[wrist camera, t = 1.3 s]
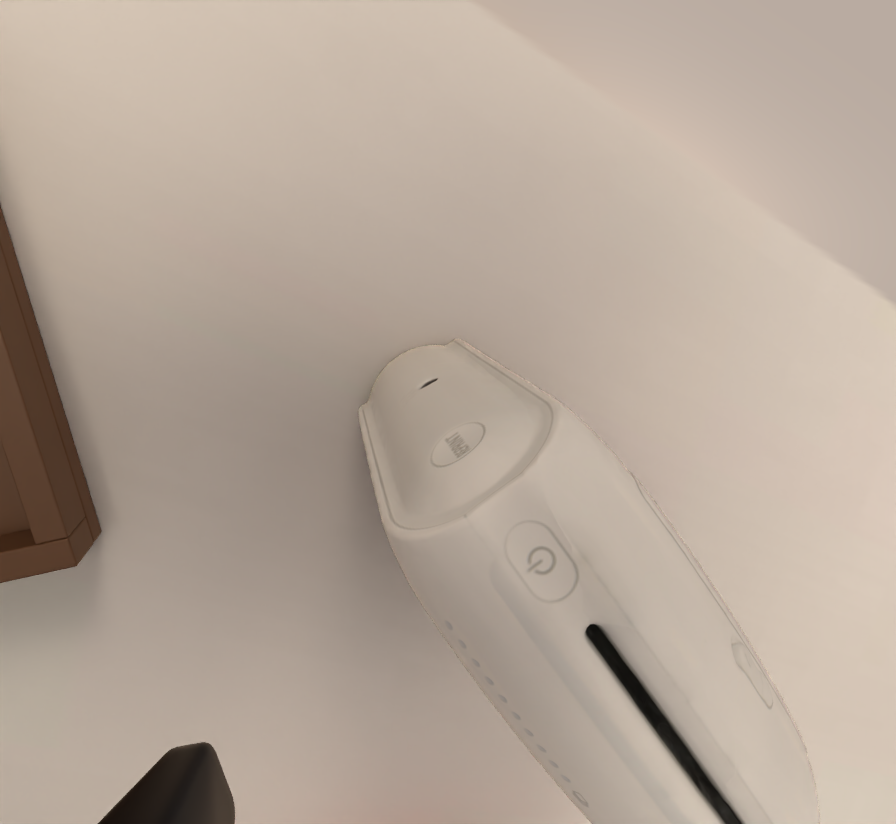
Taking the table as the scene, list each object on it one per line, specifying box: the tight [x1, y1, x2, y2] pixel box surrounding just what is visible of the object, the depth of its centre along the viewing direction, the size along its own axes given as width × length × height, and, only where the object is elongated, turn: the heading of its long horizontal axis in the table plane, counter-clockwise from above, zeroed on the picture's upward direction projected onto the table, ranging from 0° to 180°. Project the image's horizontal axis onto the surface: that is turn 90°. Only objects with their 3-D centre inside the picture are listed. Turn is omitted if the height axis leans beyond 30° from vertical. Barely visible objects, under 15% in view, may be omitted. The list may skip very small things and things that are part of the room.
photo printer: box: [358, 339, 820, 824], centre depth 16 cm, size 10×4×12 cm, turn 35°
